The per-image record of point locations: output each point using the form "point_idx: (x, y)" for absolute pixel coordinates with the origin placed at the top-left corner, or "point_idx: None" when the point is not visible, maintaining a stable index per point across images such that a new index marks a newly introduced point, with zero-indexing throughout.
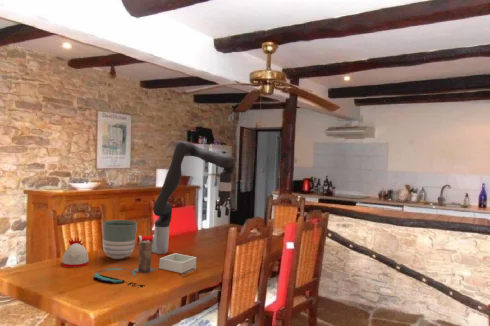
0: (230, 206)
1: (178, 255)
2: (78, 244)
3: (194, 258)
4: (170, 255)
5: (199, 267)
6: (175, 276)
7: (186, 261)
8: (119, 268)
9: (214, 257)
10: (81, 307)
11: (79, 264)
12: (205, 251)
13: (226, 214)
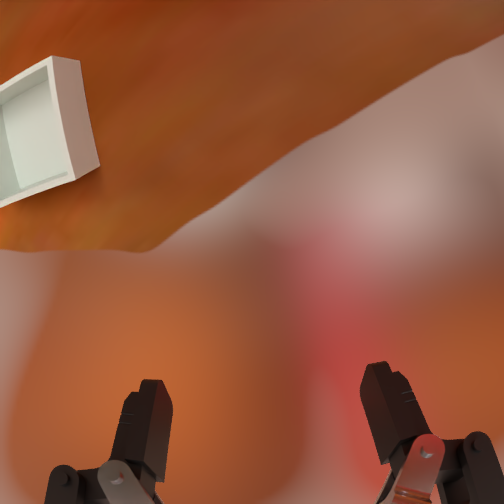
0: (438, 489)
1: (52, 82)
2: None
3: (62, 183)
4: (16, 82)
5: (133, 152)
6: None
7: (14, 201)
8: None
9: (333, 88)
10: None
11: None
12: (388, 4)
13: (369, 388)
